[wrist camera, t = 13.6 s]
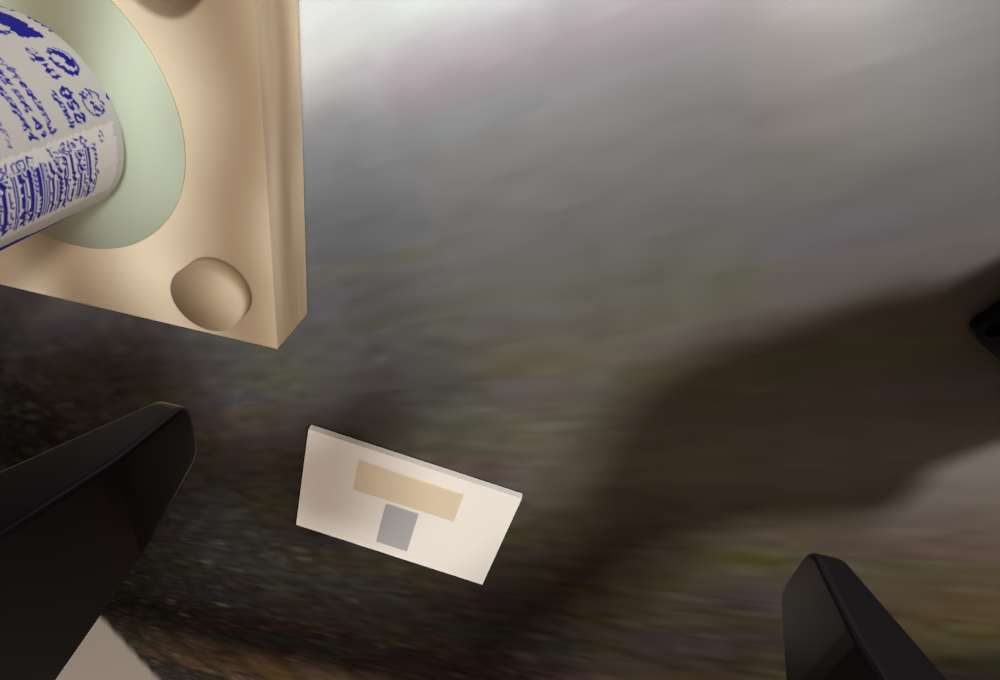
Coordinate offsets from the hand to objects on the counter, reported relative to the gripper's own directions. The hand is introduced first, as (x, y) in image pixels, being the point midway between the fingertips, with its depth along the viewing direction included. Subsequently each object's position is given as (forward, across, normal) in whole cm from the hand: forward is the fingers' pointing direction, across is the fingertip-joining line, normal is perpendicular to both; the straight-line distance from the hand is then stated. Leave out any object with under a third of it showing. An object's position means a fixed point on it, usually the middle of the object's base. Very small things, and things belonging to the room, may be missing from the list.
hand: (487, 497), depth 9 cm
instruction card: (+13, +4, +17) cm, 22 cm away
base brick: (+13, +16, 0) cm, 20 cm away
